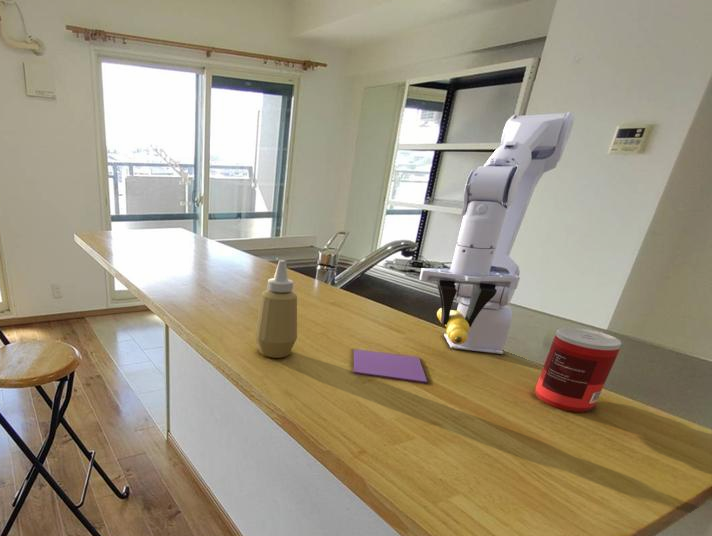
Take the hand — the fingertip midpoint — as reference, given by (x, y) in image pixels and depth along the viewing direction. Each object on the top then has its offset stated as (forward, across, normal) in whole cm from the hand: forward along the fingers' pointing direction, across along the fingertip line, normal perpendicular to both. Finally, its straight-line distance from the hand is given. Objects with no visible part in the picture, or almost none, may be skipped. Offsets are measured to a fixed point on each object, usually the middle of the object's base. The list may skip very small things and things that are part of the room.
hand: (455, 324), depth 76 cm
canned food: (+9, +16, -8) cm, 20 cm away
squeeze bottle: (+9, -31, -4) cm, 32 cm away
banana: (+1, 0, 0) cm, 1 cm away
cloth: (+8, -10, -3) cm, 13 cm away
